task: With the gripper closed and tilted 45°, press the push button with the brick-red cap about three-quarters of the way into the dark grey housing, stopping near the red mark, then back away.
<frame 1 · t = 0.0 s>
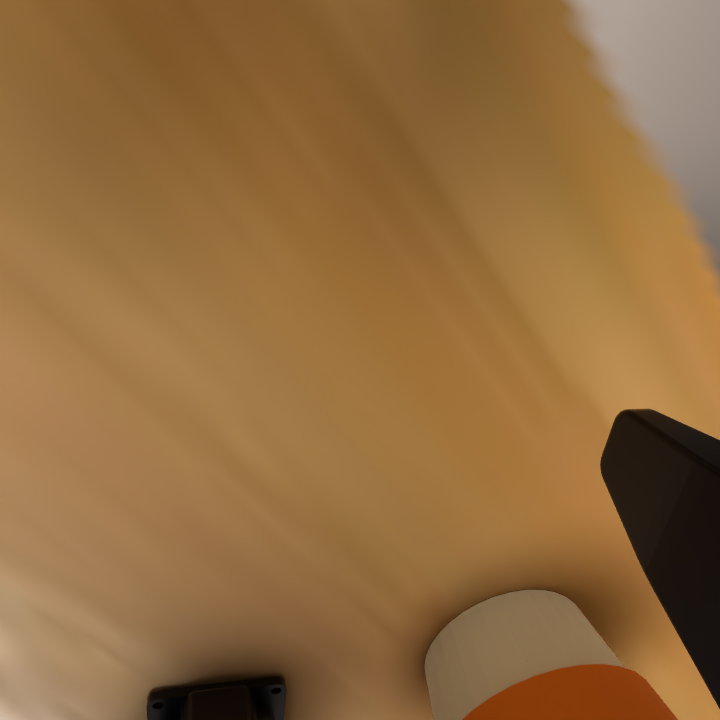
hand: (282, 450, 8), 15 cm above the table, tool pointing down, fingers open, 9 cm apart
reusable coffee cup: (503, 645, 37), on the table
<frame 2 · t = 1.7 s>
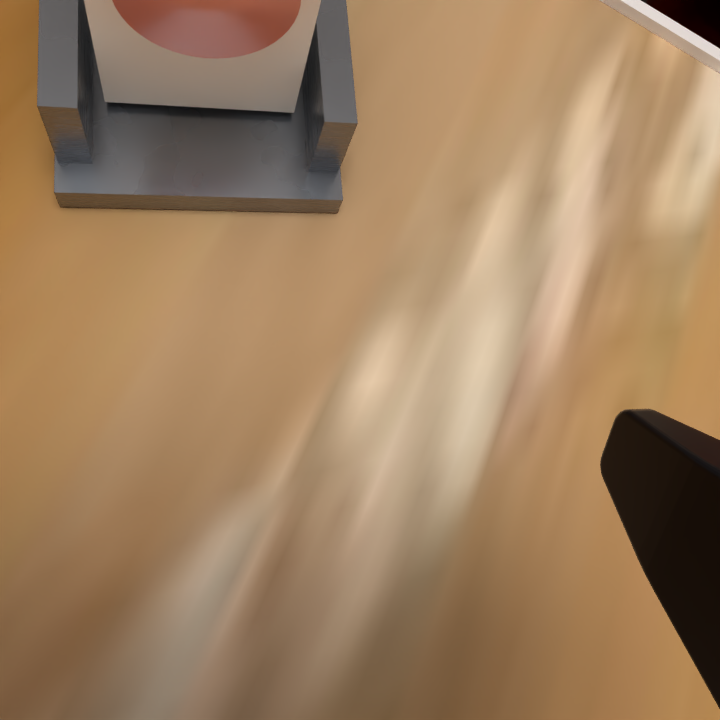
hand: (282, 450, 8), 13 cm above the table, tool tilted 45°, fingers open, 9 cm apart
press housing: (200, 78, 24), on the table
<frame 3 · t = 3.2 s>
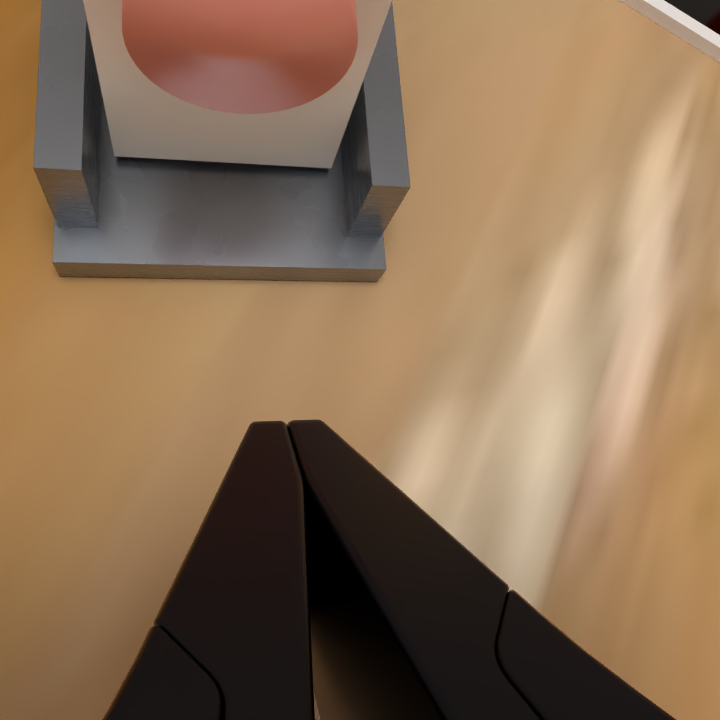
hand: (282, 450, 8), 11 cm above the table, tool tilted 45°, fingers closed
press housing: (223, 126, 21), on the table
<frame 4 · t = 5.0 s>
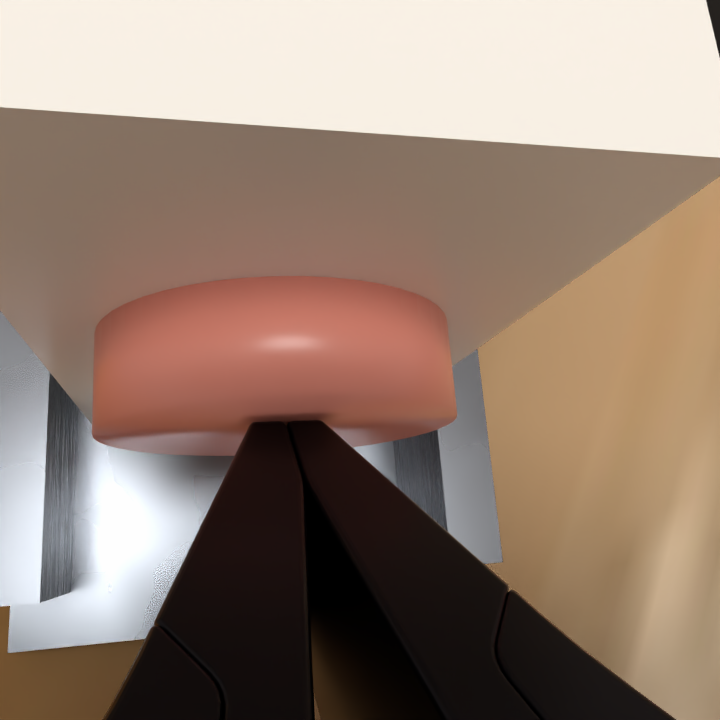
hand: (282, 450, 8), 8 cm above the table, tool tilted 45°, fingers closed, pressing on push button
press housing: (238, 398, 16), on the table
push button: (266, 263, 10), point 7 cm above the table, slide at 1.2 cm, touching gripper
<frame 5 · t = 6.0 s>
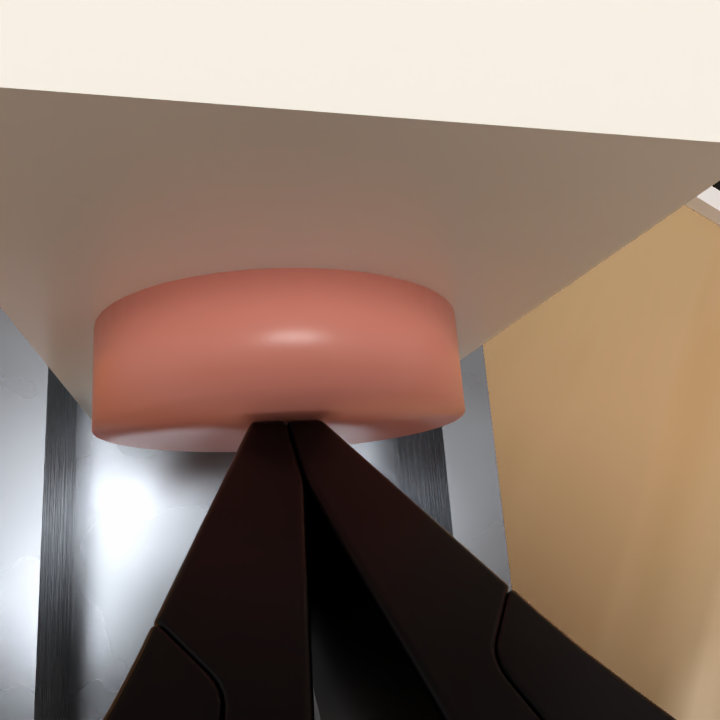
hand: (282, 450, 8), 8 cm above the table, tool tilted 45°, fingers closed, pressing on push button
press housing: (244, 542, 15), on the table
push button: (269, 256, 10), point 7 cm above the table, slide at 4.5 cm, touching gripper
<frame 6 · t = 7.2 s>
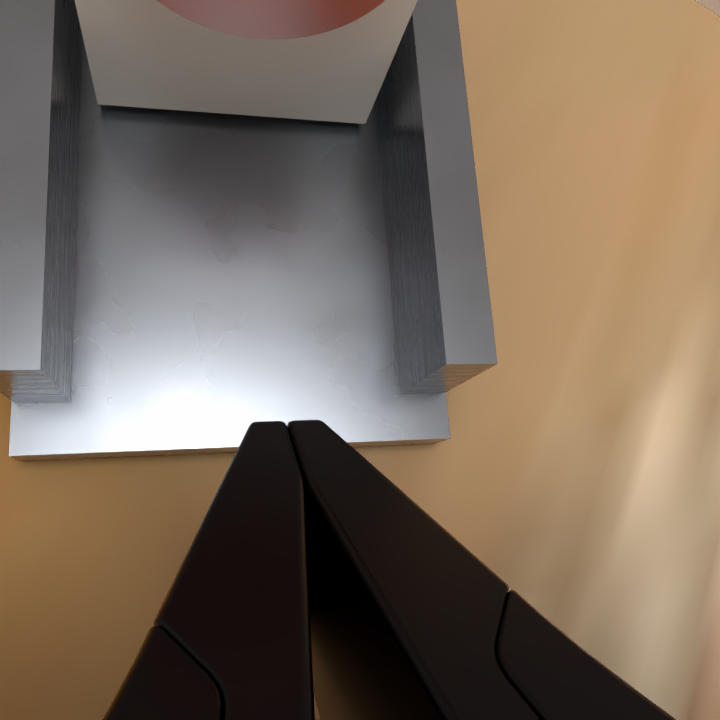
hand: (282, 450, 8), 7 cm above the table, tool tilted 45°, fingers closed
press housing: (237, 240, 16), on the table
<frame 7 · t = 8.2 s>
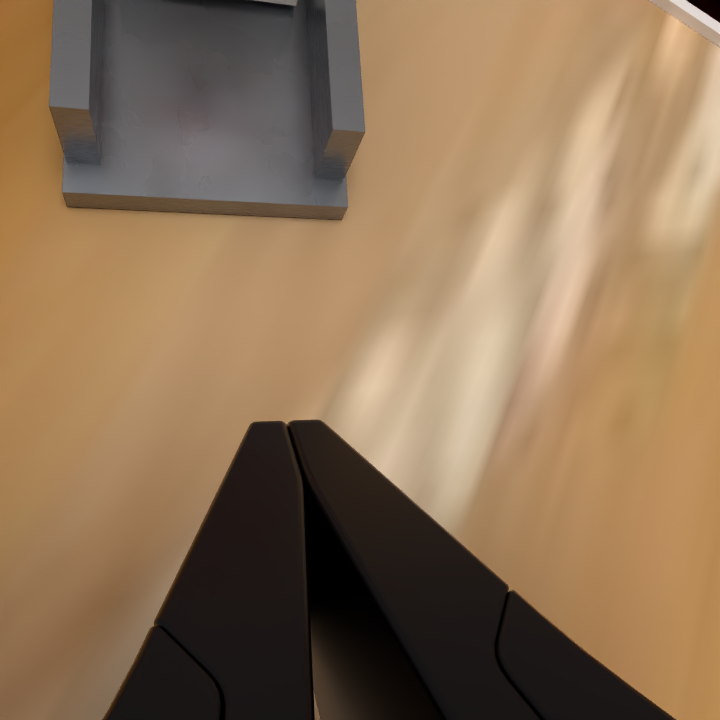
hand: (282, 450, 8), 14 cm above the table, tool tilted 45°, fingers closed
press housing: (209, 82, 24), on the table
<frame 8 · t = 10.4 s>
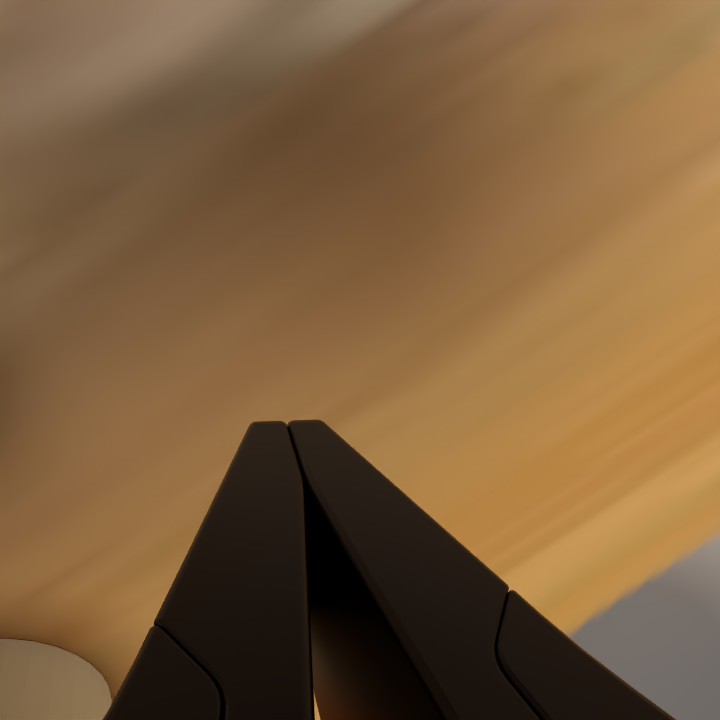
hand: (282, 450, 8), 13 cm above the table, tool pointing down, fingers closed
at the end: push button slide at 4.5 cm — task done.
